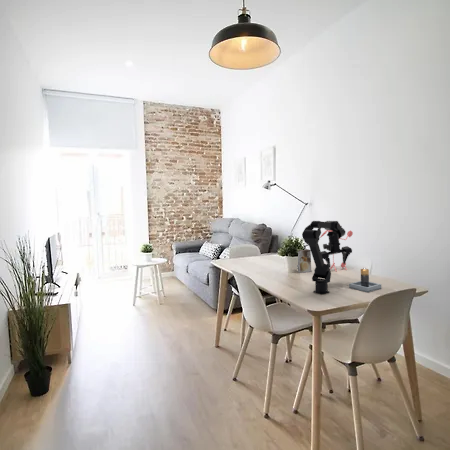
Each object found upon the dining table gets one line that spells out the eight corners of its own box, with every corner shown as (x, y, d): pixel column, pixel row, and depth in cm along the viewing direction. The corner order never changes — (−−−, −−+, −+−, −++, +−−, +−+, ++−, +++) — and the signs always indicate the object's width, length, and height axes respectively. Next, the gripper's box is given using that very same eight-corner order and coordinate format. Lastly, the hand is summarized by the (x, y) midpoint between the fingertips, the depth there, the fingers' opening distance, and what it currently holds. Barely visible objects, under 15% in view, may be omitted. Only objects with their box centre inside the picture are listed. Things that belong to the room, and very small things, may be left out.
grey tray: (367, 292, 184) (367, 288, 184) (349, 287, 194) (349, 283, 194) (381, 288, 190) (381, 284, 190) (362, 284, 201) (362, 280, 201)
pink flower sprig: (356, 269, 242) (355, 221, 240) (327, 273, 233) (325, 223, 231) (342, 265, 256) (340, 220, 254) (314, 269, 247) (312, 223, 245)
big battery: (368, 288, 189) (368, 269, 188) (360, 287, 191) (360, 268, 191) (369, 286, 193) (369, 267, 192) (361, 285, 195) (361, 267, 194)
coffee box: (307, 270, 246) (306, 248, 245) (311, 271, 240) (311, 249, 239) (295, 271, 244) (295, 249, 243) (300, 273, 238) (299, 250, 236)
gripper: (342, 235, 206) (345, 258, 210) (314, 241, 205) (317, 264, 208) (351, 239, 195) (353, 264, 199) (321, 245, 194) (324, 270, 197)
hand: (336, 265), depth 201 cm, fingers open, 9 cm apart
